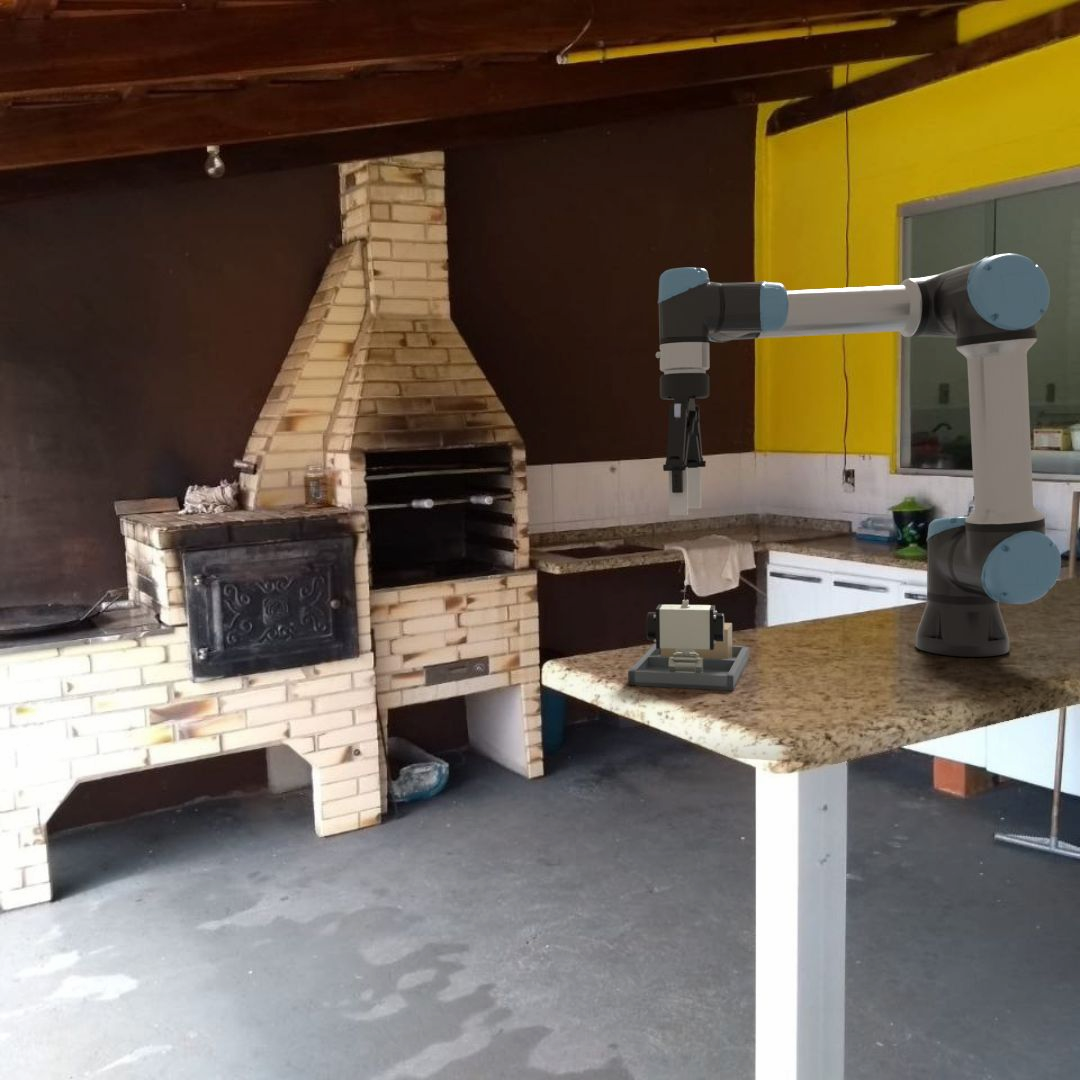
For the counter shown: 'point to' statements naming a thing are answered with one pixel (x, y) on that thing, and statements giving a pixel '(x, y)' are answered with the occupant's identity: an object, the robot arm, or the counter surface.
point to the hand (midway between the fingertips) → (685, 511)
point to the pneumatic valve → (685, 633)
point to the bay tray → (717, 673)
